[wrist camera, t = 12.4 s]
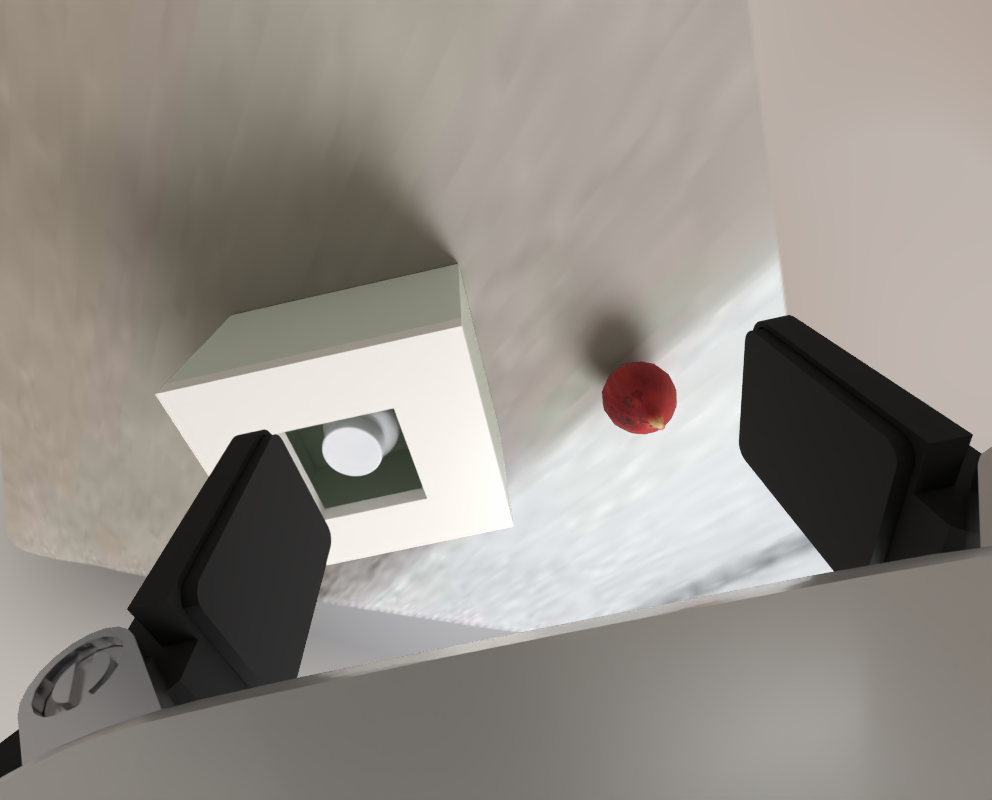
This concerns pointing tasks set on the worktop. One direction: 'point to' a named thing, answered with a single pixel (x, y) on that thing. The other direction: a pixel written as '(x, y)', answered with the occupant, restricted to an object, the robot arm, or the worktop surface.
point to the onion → (639, 397)
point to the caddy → (360, 407)
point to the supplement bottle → (360, 441)
